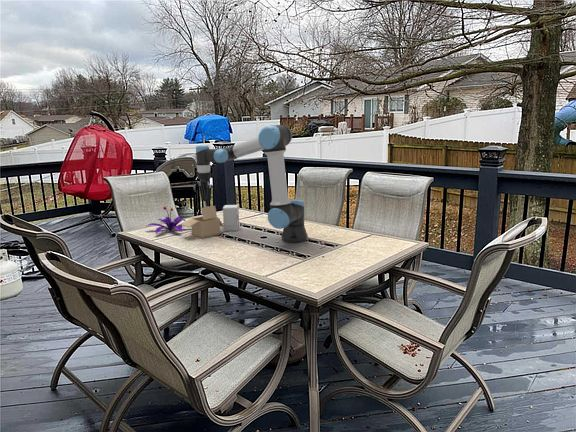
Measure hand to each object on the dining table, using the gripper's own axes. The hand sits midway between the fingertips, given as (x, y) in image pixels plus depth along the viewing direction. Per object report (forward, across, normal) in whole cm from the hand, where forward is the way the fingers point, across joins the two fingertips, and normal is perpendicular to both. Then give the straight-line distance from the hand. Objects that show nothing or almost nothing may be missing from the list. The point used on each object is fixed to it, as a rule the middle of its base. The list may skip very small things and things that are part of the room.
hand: (206, 211), depth 252 cm
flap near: (+4, -4, 0) cm, 6 cm away
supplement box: (+15, +2, -18) cm, 23 cm away
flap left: (+4, +3, +6) cm, 8 cm away
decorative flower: (+15, +27, +11) cm, 32 cm away
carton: (+15, +5, -2) cm, 16 cm away
